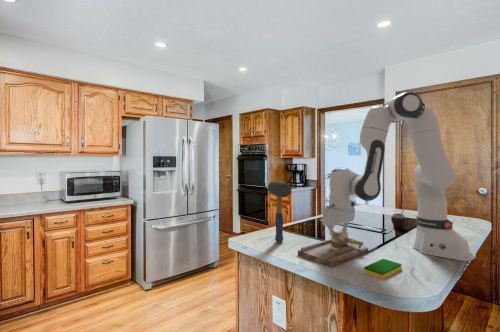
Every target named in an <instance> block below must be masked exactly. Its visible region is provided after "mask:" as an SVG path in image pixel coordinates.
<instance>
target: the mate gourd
mask: <svg viewBox="0 0 500 332" xmlns="http://www.w3.org/2000/svg"><path fill="white" fill-rule="evenodd" d="M409 204H410V202H409V203H406V204H405V205H404V206H403V207H402V211H401V213H392V215H391V217H390V218H391V219H390V220H391V223H392V225H393V226H392V228H393V229H395V230H397V229H399V230H402V231H403V230H404V225H405V223H406V218H405V215H404V210H405V209H406V207H407V206H408V205H409Z"/></svg>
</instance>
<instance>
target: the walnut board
mask: <svg viewBox="0 0 500 332" xmlns="http://www.w3.org/2000/svg"><path fill="white" fill-rule="evenodd" d="M367 251H368V252H369V248H368V247H365V246H361V248H359V245H355V244H351V243H348V244H345V245H340V244H337V243H333V242H331V238H328V239H326V240H325V239H324V240H321V241H319V242H316V243H312V244H308V245H306V246H301V247H300V249H298V250H297V256H299V257H303V258H306V259H308V260H310V261H313V262H316V263H319V264H322V265H324V266H327V267H330V268H333V267H336V266H339V265H341V264H344V263H346V262H348V260H349V261H351V260H353V259H356V258H359V257H361V256H363V255H365V254H364V253H366V252H367ZM362 254H363V255H362ZM366 254H367V253H366ZM360 255H361V256H360ZM355 257H356V258H355ZM350 259H351V260H350ZM338 264H339V265H338Z"/></svg>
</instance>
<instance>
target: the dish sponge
mask: <svg viewBox="0 0 500 332" xmlns="http://www.w3.org/2000/svg"><path fill="white" fill-rule="evenodd" d="M401 270H402V263H400V262H396V261H392V260H388V259H385V258H381V259H379V260H376V261H375V262H372V263H370V264H368V265H366V266H364V267H363V273H364V274H367V275H369V276H373V277H374V278H375V277H376V278H379V279H381V280H384V279H386V278H389V277H390V276H392V275H394V274H396V273H398V272H399V271H401Z"/></svg>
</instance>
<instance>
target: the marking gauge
mask: <svg viewBox="0 0 500 332" xmlns="http://www.w3.org/2000/svg"><path fill="white" fill-rule="evenodd" d="M333 230H334V229H333ZM334 231H335V235H330V237H331V238H330V239H331V242H333V243H337V244H340V245H345V244H348V243H351V244H355V245H359V248H361V246H362V247H364V241H362V240H357V239H354V238H349V232H348V231H347V232H343V231H342V230H339V229H335V230H334Z"/></svg>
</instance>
